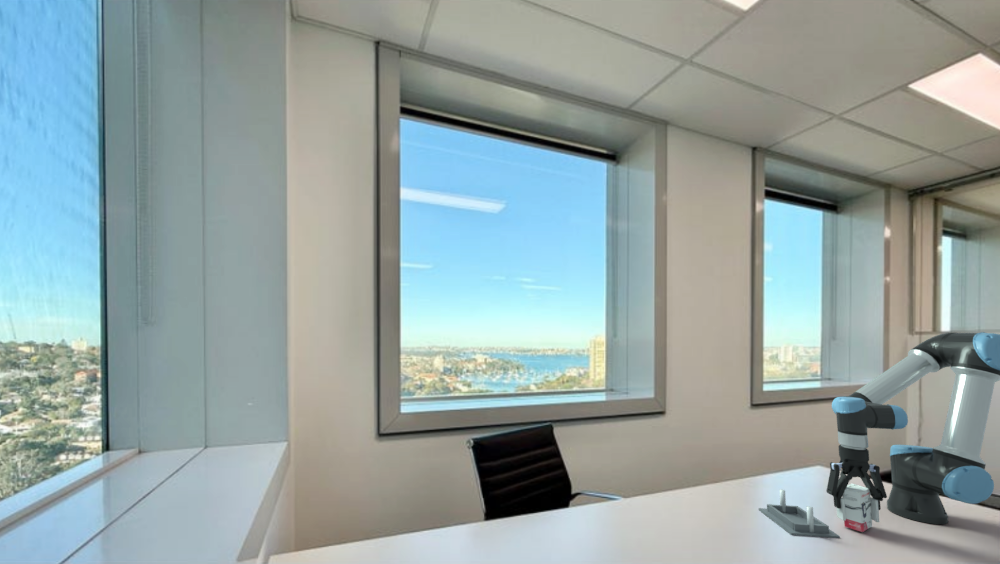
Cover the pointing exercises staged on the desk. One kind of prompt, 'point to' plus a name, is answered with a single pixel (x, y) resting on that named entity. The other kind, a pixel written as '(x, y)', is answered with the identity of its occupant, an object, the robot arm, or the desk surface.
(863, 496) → the ink box
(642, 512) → the desk surface
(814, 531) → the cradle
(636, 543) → the desk surface
